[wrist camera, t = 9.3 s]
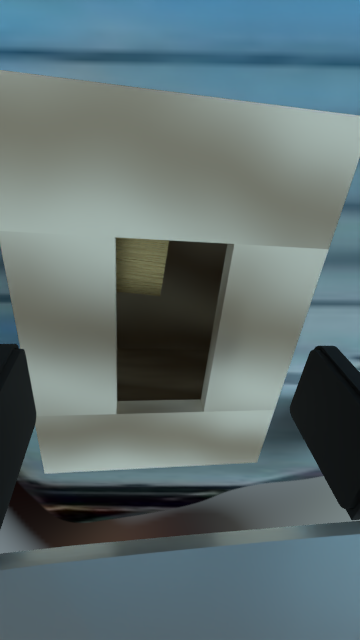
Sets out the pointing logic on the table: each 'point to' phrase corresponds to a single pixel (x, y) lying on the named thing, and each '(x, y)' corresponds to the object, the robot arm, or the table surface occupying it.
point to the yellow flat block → (140, 265)
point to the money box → (180, 269)
